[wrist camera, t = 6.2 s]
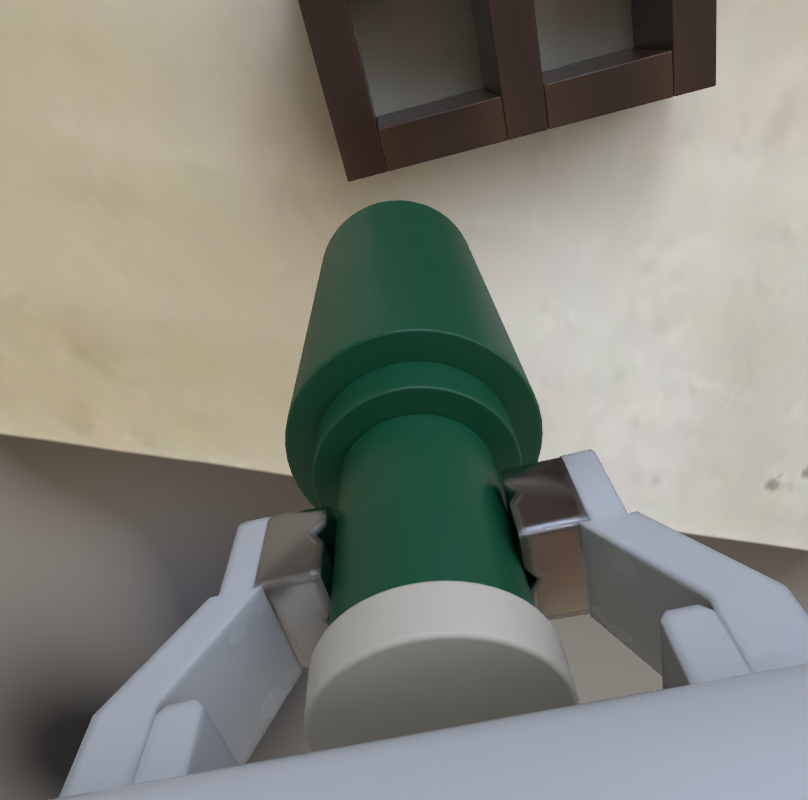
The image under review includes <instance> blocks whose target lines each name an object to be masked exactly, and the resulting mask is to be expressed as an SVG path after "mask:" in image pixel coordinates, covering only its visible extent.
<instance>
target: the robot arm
mask: <svg viewBox="0 0 808 800" xmlns="http://www.w3.org/2000/svg"><path fill="white" fill-rule="evenodd" d="M499 473H500V479H501V485H502V490H503V494H504V498H505V501H506V505H507V509H508V514H509V517H510V521H511V525H512V528H513V532H514V535H515V539H516V542H517V546H518V550H519V553H520V557H521V560H522V564H523V567H524V571H525V574H526V578H527V582H528V585H529V589H530V592H531V596H532V599H533V603H534V606H535V608H537V609H538V610H539V611H540V612H541V613H542V614H543V615H544V616H545V617H546V618H547V619H548V620H553V619H559V618H565V617H572V616H578V615H584V614H590V613H591V617H593V618H594V619H595V620H596V621H597V622H599V623H600V624H601V625H602V626H603V627H604V628H606V629H607V630H608V631H609V632H610V633H612V634H613V635H614V636H615V637H616V638H618V639H619V640H620V641H621V642H622V643H624V644H625V645H626V646H627V647H628V648H629V649H631V650H632V651H633V652H634V653H635V654H636V655H638V656H639V657H640V658H641V659H642V660H644V661H645V662H646V663H647V664H648V665H650V666H651V667H652V668H653V669H654V670H656V671H657V672H658V673H659V674H660V675H661V676H662V678H663V689H662V690H656V691H651V692H646V693H640V694H634V695H629V696H623V697H617V698H612V699H606V700H601V701H595V702H589V703H584V704H578V705H573V706H567V707H561V708H556V709H550V710H545V711H539V712H533V713H528V714H522V715H517V716H511V717H505V718H500V719H494V720H489V721H483V722H478V723H472V724H467V725H461V726H455V727H450V728H444V729H439V730H433V731H428V732H422V733H416V734H411V735H405V736H400V737H394V738H389V739H383V740H378V741H372V742H366V743H361V744H355V745H350V746H344V747H339V748H333V749H327V750H322V751H316V752H311V753H306V754H300V755H294V756H289V757H283V758H278V759H272V760H266V761H261V762H255V763H250V764H245V763H246V762H247V760H248V758H249V757H250V755H251V754H252V752H253V750H254V749H255V747H256V746H257V744H258V742H259V741H260V739H261V737H262V736H263V734H264V733H265V731H266V729H267V727H268V726H269V724H270V723H271V721H272V720H273V718H274V716H275V714H276V713H277V711H278V710H279V708H280V706H281V705H282V703H283V701H284V700H285V698H286V697H287V695H288V694H289V692H290V690H291V688H292V687H293V685H294V684H295V682H296V680H297V679H298V677H299V676H300V674H301V672H302V670H301V668H305V667H309V666H310V661H311V657H312V654H313V652H314V649H315V647H316V645H317V643H318V641H319V640H320V638H321V637H322V635H323V634H324V632H325V631H326V629H327V628H328V627H329V618H330V605H331V591H332V578H333V565H334V552H335V538H336V525H337V518H336V516H335V513H334V511H333V509H332V508H331V507H330V506H325V507H320V508H314V509H309V510H304V511H298V512H293V513H288V514H282V515H278V516H272V517H268V518H263V519H258V520H252V521H248V522H243V523H242V524H241V525H240V526H239V527H238V529H237V532H236V535H235V539H234V543H233V546H232V550H231V554H230V557H229V561H228V564H227V568H226V572H225V575H224V578H223V582H222V585H221V589H220V593H219V596H215V597H210V598H209V599H208V600H207V601H206V602H205V603H204V604H203V605H202V606H201V607H200V608H199V609H198V610H197V611H196V612H195V613H194V614H193V615H192V616H191V617H190V618H189V619H188V620H187V621H186V622H185V623H184V624H183V625H182V626H181V627H180V628H179V629H178V631H176V632H175V633H174V635H172V637H170V639H169V640H168V641H167V642H166V643H165V644H164V645H163V646H162V647H161V648H160V649H159V650H158V651H157V652H156V653H155V654H154V655H153V656H152V657H151V658H150V659H149V660H148V661H147V662H146V663H145V664H144V665H143V666H142V667H141V668H140V669H139V670H138V671H137V672H136V673H135V674H134V675H133V676H132V677H131V678H130V679H129V680H128V681H127V682H126V683H125V684H124V685H123V686H122V687H121V688H120V689H119V690H118V691H117V692H116V693H115V694H114V695H113V696H112V697H111V698H110V699H109V700H108V701H107V702H106V703H105V704H104V705H103V706H102V707H101V708H100V709H99V710H98V711H97V712H96V713H95V714H94V715H93V717H92V719H91V722H90V724H89V727H88V729H87V732H86V734H85V736H84V739H83V741H82V743H81V746H80V748H79V751H78V753H77V756H76V758H75V760H74V763H73V765H72V768H71V770H70V773H69V775H68V778H67V779H66V782H65V784H64V787H63V789H62V791H61V794H60V797H59V798H56V799H49V800H808V615H807V614H806V613H805V611H804V610H803V608H802V607H801V606H800V604H799V603H798V602H797V600H796V599H795V598H794V596H793V595H792V594H791V593H790V591H789V590H788V588H787V587H786V586H785V585H783V584H781V583H779V582H777V581H775V580H773V579H771V578H769V577H767V576H765V575H763V574H761V573H759V572H757V571H755V570H753V569H751V568H749V567H747V566H745V565H743V564H741V563H739V562H737V561H735V560H733V559H731V558H729V557H727V556H725V555H723V554H721V553H719V552H717V551H715V550H713V549H711V548H709V547H707V546H705V545H703V544H701V543H699V542H697V541H695V540H693V539H691V538H689V537H687V536H685V535H683V534H681V533H679V532H677V531H675V530H673V529H671V528H669V527H667V526H665V525H663V524H661V523H659V522H657V521H655V520H653V519H651V518H649V517H647V516H645V515H643V514H641V513H639V512H632V513H627V511H626V509H625V507H624V505H623V504H622V502H621V500H620V498H619V496H618V494H617V492H616V491H615V489H614V487H613V485H612V483H611V481H610V479H609V478H608V476H607V474H606V472H605V470H604V468H603V466H602V464H601V463H600V461H599V459H598V457H597V455H596V453H595V452H594V451H593V450H591V449H589V450H584V451H580V452H576V453H572V454H568V455H563V456H560V458H555V459H550V460H546V461H541V462H536V463H532V464H527V465H522V466H518V467H513V468H508V469H504V470H499Z"/></svg>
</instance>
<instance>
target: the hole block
mask: <svg viewBox="0 0 808 800" xmlns="http://www.w3.org/2000/svg"><path fill="white" fill-rule="evenodd" d="M298 2H299V5H300V9H301V12H302V16H303V20H304V23H305V27H306V31H307V34H308V38H309V41H310V45H311V49H312V52H313V56H314V60H315V63H316V67H317V71H318V74H319V78H320V81H321V85H322V89H323V92H324V96H325V100H326V103H327V107H328V110H329V114H330V118H331V121H332V125H333V129H334V132H335V136H336V140H337V143H338V147H339V150H340V154H341V158H342V161H343V165H344V169H345V172H346V176H347V179H348V181H349V182H350V181H353V180H357V179H361V178H365V177H369V176H373V175H376V174H380V173H384V172H387V171H392V170H395V169H399V168H403V167H407V166H411V165H415V164H418V163H422V162H426V161H430V160H434V159H437V158H441V157H445V156H449V155H453V154H457V153H460V152H464V151H468V150H472V149H476V148H479V147H483V146H487V145H491V144H495V143H499V142H502V141H506V140H507V139H508V140H510V139H514V138H517V137H521V136H525V135H529V134H533V133H537V132H540V131H544V130H547V129H552V128H556V127H560V126H563V125H567V124H571V123H575V122H579V121H583V120H586V119H590V118H594V117H598V116H602V115H605V114H609V113H613V112H617V111H621V110H625V109H628V108H632V107H636V106H640V105H644V104H647V103H651V102H655V101H659V100H663V99H667V98H670V97H673V96H678V95H682V94H686V93H689V92H693V91H697V90H701V89H705V88H709V87H712V86H715V85H716V0H632V18H633V38H634V48H631V49H627V50H623V51H620V52H616V53H612V54H609V55H605V56H601V57H597V58H594V59H590V60H586V61H582V62H579V63H575V64H571V65H568V66H564V67H560V68H556V69H553V70H549V71H545V72H542V70H541V61H540V53H539V44H538V35H537V27H536V18H535V10H534V1H533V0H471V6H472V12H473V18H474V25H475V31H476V37H477V43H478V50H479V56H480V62H481V69H482V75H483V81H484V88H482V89H478V90H474V91H471V92H467V93H463V94H460V95H456V96H452V97H448V98H445V99H441V100H437V101H434V102H430V103H426V104H422V105H419V106H415V107H411V108H407V109H404V110H400V111H396V112H393V113H389V114H385V115H381V116H378V117H376V116H375V112H374V108H373V103H372V99H371V95H370V91H369V87H368V83H367V79H366V75H365V70H364V66H363V62H362V58H361V54H360V50H359V46H358V41H357V37H356V33H355V29H354V25H353V21H352V17H351V13H350V8H349V4H348V0H298Z"/></svg>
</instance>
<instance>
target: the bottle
mask: <svg viewBox="0 0 808 800" xmlns="http://www.w3.org/2000/svg"><path fill="white" fill-rule="evenodd" d="M541 444H542V418H541V414H540V410H539V405H538V403H537V400H536V398H535V395H534V393H533V390H532V388H531V386H530V384H529V381H528V379H527V377H526V375H525V372H524V370H523V368H522V366H521V363H520V361H519V359H518V357H517V354H516V352H515V350H514V348H513V345H512V343H511V341H510V339H509V336H508V334H507V332H506V330H505V327H504V325H503V323H502V321H501V318H500V316H499V314H498V312H497V309H496V307H495V305H494V303H493V300H492V298H491V296H490V294H489V291H488V289H487V287H486V285H485V282H484V280H483V278H482V276H481V273H480V271H479V269H478V267H477V264H476V262H475V260H474V258H473V255H472V253H471V251H470V249H469V247H468V244H467V242H466V240H465V239H464V237H463V235H462V233H461V232H460V231H459V230H458V228H457V227H456V226H455V225H454V224H453V223H452V222H451V221H450V220H449V219H448V218H447V217H445V216H444V215H443V214H441V213H440V212H438V211H436V210H435V209H433V208H431V207H428V206H426V205H423V204H420V203H416V202H411V201H402V200H398V201H386V202H380V203H377V204H374V205H370V206H368V207H366V208H364V209H362V210H360V211H358V212H357V213H355V214H353V215H352V216H351V217H349V218H348V219H347V220H346V221H345V222H344V223H343V224H342V225H341V226H340V227H339V228H338V229H337V230H336V232H335V233H334V235H333V237H332V238H331V240H330V242H329V244H328V246H327V248H326V251H325V254H324V257H323V262H322V266H321V271H320V275H319V280H318V284H317V289H316V293H315V298H314V302H313V307H312V311H311V316H310V320H309V325H308V329H307V334H306V338H305V343H304V347H303V352H302V356H301V361H300V365H299V369H298V374H297V378H296V383H295V387H294V392H293V396H292V401H291V405H290V410H289V414H288V419H287V425H286V431H285V447H286V454H287V460H288V463H289V466H290V469H291V473H292V475H293V477H294V479H295V481H296V483H297V485H298V487H299V488H300V490H301V491H302V493H303V494H304V496H305V497H306V498H307V500H309V502H310V503H311V504H312V505H313V506H314V507H315V508H320V507H325V506H330V507H331V508H332V509H333V511H334V513H335V516H336V518H337V525H336V538H335V552H334V565H333V578H332V591H331V605H330V618H329V627H328V628H327V629H326V631H325V632H324V634H323V635H322V637H321V638H320V640H319V641H318V643H317V645H316V647H315V649H314V652H313V654H312V657H311V661H310V666H309V676H308V686H307V696H306V705H305V715H304V729H305V735H306V739H307V742H308V744H309V747H310V750H311V752H316V751H322V750H327V749H333V748H339V747H344V746H350V745H355V744H361V743H366V742H372V741H378V740H383V739H389V738H394V737H400V736H405V735H411V734H416V733H422V732H428V731H433V730H439V729H444V728H450V727H455V726H461V725H467V724H472V723H478V722H483V721H489V720H494V719H500V718H505V717H511V716H517V715H522V714H528V713H533V712H539V711H545V710H550V709H556V708H561V707H567V706H573V705H578V704H579V698H578V695H577V691H576V687H575V684H574V681H573V678H572V674H571V671H570V668H569V664H568V661H567V658H566V655H565V651H564V648H563V645H562V642H561V639H560V637H559V635H558V633H557V631H556V629H555V628H554V627H553V625H552V624H551V623H550V621H549V620H548V619H547V618H546V617H545V616H544V615H543V614H542V613H541V612H540V611H539V610H538V609H537V608H535V606H534V603H533V599H532V596H531V592H530V589H529V585H528V582H527V578H526V574H525V571H524V567H523V564H522V560H521V557H520V553H519V550H518V546H517V542H516V539H515V535H514V532H513V528H512V525H511V521H510V517H509V514H508V509H507V505H506V501H505V498H504V494H503V490H502V485H501V479H500V473H499V470H504V469H508V468H513V467H518V466H522V465H527V464H532V463H536V462H538V458H539V454H540V450H541Z"/></svg>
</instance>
